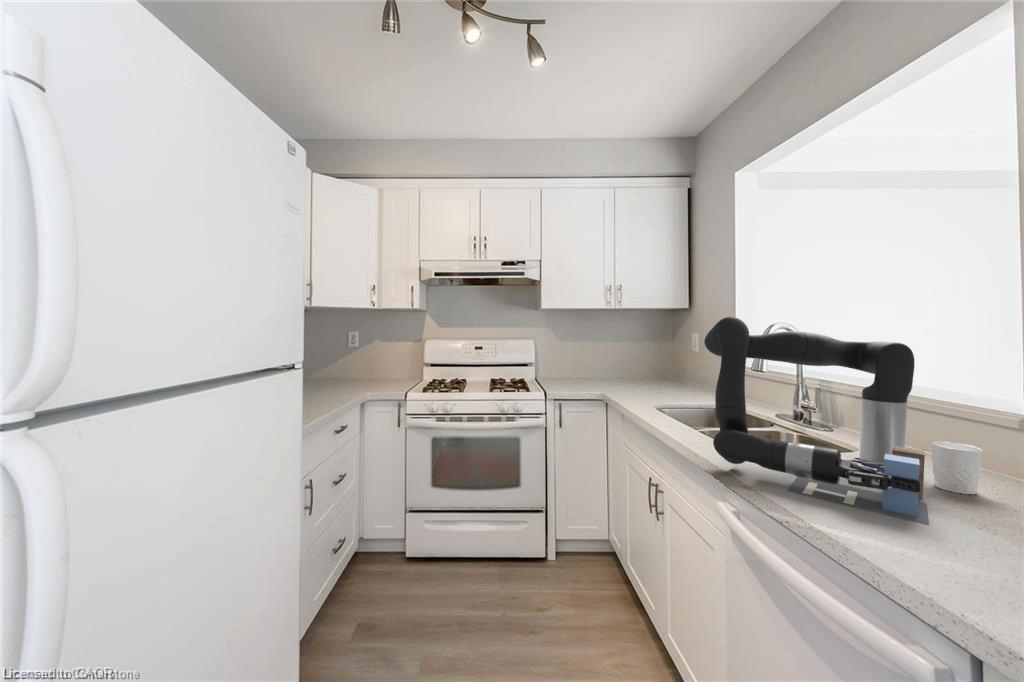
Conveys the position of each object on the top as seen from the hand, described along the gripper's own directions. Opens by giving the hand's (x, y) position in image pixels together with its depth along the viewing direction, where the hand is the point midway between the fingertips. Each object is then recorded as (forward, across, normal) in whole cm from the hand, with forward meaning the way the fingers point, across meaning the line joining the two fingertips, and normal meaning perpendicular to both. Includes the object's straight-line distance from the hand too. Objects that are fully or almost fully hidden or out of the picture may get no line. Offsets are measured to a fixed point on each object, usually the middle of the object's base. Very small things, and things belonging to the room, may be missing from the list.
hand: (919, 482), depth 79 cm
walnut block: (-2, +13, +6) cm, 15 cm away
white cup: (+6, +26, +7) cm, 28 cm away
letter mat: (-10, +1, +6) cm, 12 cm away
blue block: (-3, 0, +6) cm, 6 cm away
